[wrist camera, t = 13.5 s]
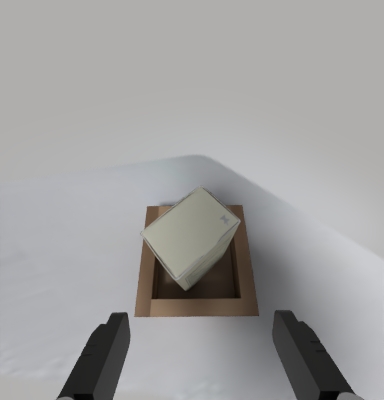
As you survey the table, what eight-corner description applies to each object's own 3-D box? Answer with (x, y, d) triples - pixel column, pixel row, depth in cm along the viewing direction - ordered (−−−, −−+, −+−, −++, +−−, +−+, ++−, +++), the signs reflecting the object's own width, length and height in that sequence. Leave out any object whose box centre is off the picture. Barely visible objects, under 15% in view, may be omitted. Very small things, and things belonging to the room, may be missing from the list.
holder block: (143, 315, 22) (134, 316, 19) (153, 219, 28) (147, 206, 25) (248, 314, 22) (259, 315, 19) (236, 218, 28) (242, 205, 25)
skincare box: (200, 233, 26) (204, 180, 16) (223, 257, 25) (245, 218, 14) (161, 265, 24) (136, 231, 14) (184, 295, 23) (175, 282, 12)
